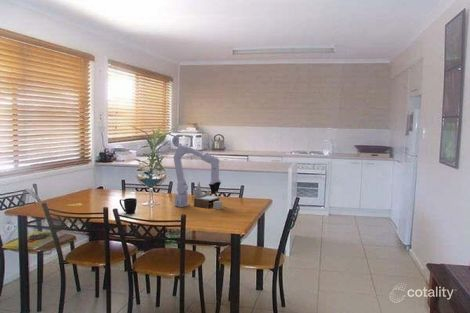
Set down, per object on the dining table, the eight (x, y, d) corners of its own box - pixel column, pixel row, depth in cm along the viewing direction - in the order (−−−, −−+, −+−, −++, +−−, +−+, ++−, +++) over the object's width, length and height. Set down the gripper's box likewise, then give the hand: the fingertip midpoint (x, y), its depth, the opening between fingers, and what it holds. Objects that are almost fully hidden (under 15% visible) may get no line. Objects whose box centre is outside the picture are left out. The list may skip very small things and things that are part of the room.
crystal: (207, 201, 314) (207, 182, 313) (191, 201, 316) (191, 181, 315) (210, 199, 324) (210, 180, 322) (194, 198, 326) (194, 180, 325)
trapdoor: (209, 200, 292) (209, 197, 291) (196, 198, 298) (196, 196, 297) (218, 198, 302) (218, 195, 302) (205, 196, 308) (205, 193, 308)
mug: (123, 211, 278) (123, 197, 277) (139, 212, 274) (139, 198, 274) (116, 213, 270) (116, 199, 269) (132, 215, 266) (132, 200, 266)
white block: (218, 209, 287) (218, 202, 286) (213, 208, 289) (213, 201, 289) (222, 208, 291) (222, 201, 290) (216, 207, 293) (216, 200, 293)
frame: (207, 208, 291) (207, 200, 290) (194, 206, 297) (194, 198, 296) (219, 204, 304) (219, 197, 304) (205, 202, 310) (205, 195, 310)
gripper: (217, 175, 287) (217, 194, 288) (223, 173, 301) (223, 191, 302) (207, 175, 289) (207, 194, 290) (214, 172, 303) (214, 191, 304)
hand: (214, 192), depth 296 cm, fingers open, 7 cm apart
